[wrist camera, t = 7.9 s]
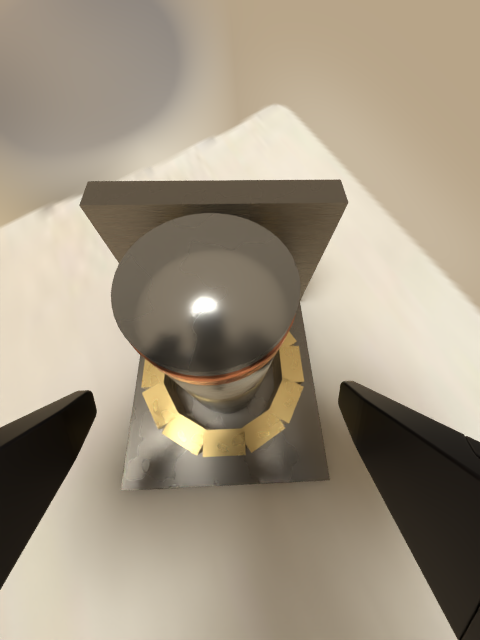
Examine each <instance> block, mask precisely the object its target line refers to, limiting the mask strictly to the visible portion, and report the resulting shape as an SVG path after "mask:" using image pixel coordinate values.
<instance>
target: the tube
mask: <svg viewBox="0 0 480 640" xmlns="http://www.w3.org/2000/svg"><path fill="white" fill-rule="evenodd" d="M299 299H300V277H299V272H298V269H297V266H296V263H295V261H294V259H293V257H292V255H291V253H290V252H289V250H288V249H287V247H286V246H285V245H284V244H283V243H282V242H281V240H280V239H279V238H277V237H276V236H275V235H274V234H273V233H272V232H270V231H269V230H267V229H266V228H264V227H262V226H261V225H259V224H257V223H255V222H252V221H250V220H248V219H245V218H241V217H238V216H234V215H228V214H220V213H201V214H193V215H187V216H183V217H179V218H176V219H173V220H170V221H168V222H165V223H163V224H161V225H159V226H157V227H155V228H154V229H152V230H150V231H149V232H147V233H146V234H145V235H143V236H142V237H141V238H140V239H138V240H137V241H136V242H135V243H134V244H133V245H132V246H131V247H130V249H129V250H128V251H127V253H126V254H125V255H124V257H123V258H122V260H121V262H120V263H119V265H118V268H117V270H116V272H115V275H114V279H113V283H112V290H111V303H112V309H113V314H114V317H115V320H116V322H117V324H118V327H119V328H120V330H121V332H122V333H123V335H124V336H125V338H126V339H127V340H128V341H129V342H130V344H131V345H132V346H133V347H134V348H135V350H136V351H137V352H138V353H139V354H140V355H141V356H143V357H144V358H145V359H146V360H147V361H149V362H150V363H151V364H152V365H153V366H155V367H156V368H157V369H158V370H160V371H161V372H163V373H164V374H166V375H168V376H169V377H170V378H171V379H172V380H174V381H175V382H176V383H177V384H178V385H180V386H181V387H182V388H183V389H184V390H185V391H187V392H188V393H189V394H190V395H191V396H193V397H194V398H195V399H196V400H197V401H198V402H200V403H201V404H202V405H203V406H204V407H206V408H207V409H209V410H211V411H213V412H216V413H222V414H228V413H233V412H237V411H239V410H241V409H243V408H244V407H246V406H247V405H248V404H249V403H250V402H251V401H252V399H253V398H254V396H255V394H256V393H257V391H258V389H259V387H260V385H261V383H262V381H263V379H264V376H265V374H266V372H267V370H268V368H269V366H270V364H271V362H272V360H273V358H274V356H275V354H276V353H277V351H278V350H279V349H280V347H281V346H282V344H283V342H284V340H285V338H286V336H287V334H288V332H289V330H290V328H291V326H292V324H293V321H294V318H295V315H296V311H297V308H298V305H299Z"/></svg>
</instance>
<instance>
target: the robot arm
mask: <svg viewBox="0 0 480 640" xmlns="http://www.w3.org/2000/svg"><path fill="white" fill-rule="evenodd" d="M338 404H339V408H340V410H341V413H342V415H343V418H344V420H345V422H346V425H347V427H348V430H349V432H350V435H351V437H352V440H353V442H354V444H355V447H356V448H357V450H358V452H359V454H360V456H361V458H362V460H363V462H364V464H365V466H366V468H367V469H368V471H369V473H370V475H371V477H372V479H373V481H374V483H375V485H376V486H377V488H378V490H379V492H380V494H381V496H382V498H383V500H384V501H385V503H386V505H387V507H388V509H389V511H390V513H391V515H392V517H393V518H394V520H395V522H396V524H397V526H398V528H399V530H400V532H401V534H402V535H403V537H404V539H405V541H406V543H407V545H408V547H409V549H410V550H411V552H412V554H413V556H414V558H415V560H416V562H417V564H418V566H419V567H420V569H421V571H422V573H423V575H424V577H425V579H426V581H427V582H428V584H429V586H430V588H431V590H432V592H433V594H434V596H435V598H436V599H437V601H438V603H439V605H440V607H441V609H442V611H443V613H444V615H445V616H446V618H447V620H448V622H449V624H450V626H451V628H452V630H453V631H454V633H455V635H456V637H457V639H458V640H480V442H478V441H476V440H474V439H472V438H470V437H468V436H464V434H462V433H460V432H458V431H456V430H453V429H451V428H449V427H447V426H445V425H443V424H441V423H439V422H437V421H435V420H433V419H431V418H429V417H427V416H424V415H422V414H420V413H418V412H416V411H414V410H412V409H410V408H408V407H406V406H404V405H402V404H400V403H398V402H396V401H393V400H391V399H389V398H387V397H385V396H383V395H381V394H379V393H377V392H375V391H373V390H371V389H369V388H367V387H365V386H362V385H360V384H358V383H356V382H354V381H344V382H342V383H341V385H340V392H339V399H338ZM96 413H97V409H96V405H95V401H94V397H93V394H92V392H91V391H89V390H85V391H76V392H74V393H72V394H70V395H68V396H66V397H64V398H62V399H59V400H57V401H55V402H53V403H51V404H49V405H47V406H45V407H43V408H41V409H38V410H36V411H34V412H32V413H30V414H28V415H26V416H24V417H22V418H20V419H17V420H15V421H13V422H11V423H9V424H7V425H5V426H3V427H1V428H0V589H1V588H2V586H3V584H4V583H5V581H6V579H7V577H8V576H9V574H10V572H11V570H12V569H13V567H14V565H15V564H16V562H17V560H18V558H19V557H20V555H21V553H22V552H23V550H24V548H25V546H26V545H27V543H28V541H29V539H30V538H31V536H32V534H33V533H34V531H35V529H36V527H37V526H38V524H39V522H40V520H41V519H42V517H43V515H44V514H45V512H46V510H47V508H48V507H49V505H50V503H51V501H52V500H53V498H54V496H55V495H56V493H57V491H58V489H59V488H60V486H61V484H62V482H63V481H64V479H65V477H66V476H67V474H68V472H69V470H70V469H71V467H72V465H73V463H74V462H75V460H76V458H77V456H78V454H79V452H80V450H81V447H82V445H83V443H84V441H85V439H86V437H87V434H88V432H89V430H90V428H91V426H92V424H93V421H94V419H95V417H96Z"/></svg>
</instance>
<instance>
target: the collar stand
mask: <svg viewBox="0 0 480 640" xmlns="http://www.w3.org/2000/svg"><path fill="white" fill-rule="evenodd" d="M347 204H348V200H347V197H346V194H345V191H344V188H343V185H342V182H341V180H231V181H101V182H100V181H95V182H94V181H91V182H88V183H87V186H86V188H85V191H84V194H83V197H82V200H81V202H80V207H81V208H82V210H83V211H84V213H85V214H86V216H87V217H88V219H89V220H90V221H91V223H92V224H93V226H94V227H95V229H96V230H97V232H98V233H99V235H100V236H101V238H102V239H103V240H104V242H105V243H106V245H107V246H108V248H109V249H110V251H111V252H112V254H113V255H114V256H115V258H116V259H117V261H118V262H119V263H120V262H121V260H122V258H123V257H124V255H125V254H126V253H127V251H128V250H129V249H130V247H131V246H132V245H133V244H134V243H135V242H136V241H137V240H138V239H140V238H141V237H142V236H143V235H145V234H146V233H147V232H149V231H150V230H152V229H154V228H155V227H157V226H159V225H161V224H163V223H165V222H168V221H170V220H173V219H176V218H179V217H183V216H187V215H193V214H201V213H220V214H228V215H234V216H238V217H241V218H245V219H248V220H250V221H252V222H255V223H257V224H259V225H261V226H262V227H264V228H266V229H267V230H269V231H270V232H272V233H273V234H274V235H275V236H276V237H277V238H279V239H280V240H281V242H282V243H283V244H284V245H285V246H286V247H287V249H288V250H289V252H290V253H291V255H292V257H293V259H294V261H295V263H296V266H297V269H298V272H299V277H300V299H299V305H298V308H297V311H296V315H295V318H294V321H293V324H292V326H291V328H290V330H289V332H288V334H287V336H286V338H285V340H284V342H283V344H282V346H281V347H280V349H279V350H278V351H277V353H276V354H275V356H274V358H273V360H272V362H271V364H270V366H269V368H268V370H267V372H266V374H265V376H264V379H263V381H262V383H261V385H260V387H259V389H258V391H257V393H256V394H255V396H254V398H253V399H252V401H251V402H250V403H249V404H248V405H247V406H246V407H244V408H243V409H241V410H239V411H237V412H233V413H228V414H222V413H216V412H213V411H211V410H209V409H207V408H206V407H204V406H203V405H202V404H201V403H200V402H198V401H197V400H196V399H195V398H194V397H193V396H191V395H190V394H189V393H188V392H187V391H185V390H184V389H183V388H182V387H181V386H180V385H178V384H177V383H176V382H175V381H174V380H172V379H171V378H170V377H169V376H168V375H166V374H164V373H163V372H161V371H160V370H158V369H157V368H156V367H155V366H153V365H152V364H151V363H150V362H149V361H147V360H146V359H145V358H144V357H143V356H141V355H140V361H139V368H138V375H137V382H136V389H135V396H134V402H133V409H132V416H131V423H130V430H129V437H128V444H127V450H126V457H125V464H124V471H123V478H122V485H121V491H123V490H143V489H163V488H183V487H203V486H223V485H243V484H263V483H283V482H303V481H323V480H330V479H329V473H328V467H327V461H326V455H325V449H324V443H323V437H322V431H321V425H320V419H319V413H318V407H317V401H316V395H315V389H314V383H313V377H312V371H311V365H310V359H309V354H308V348H307V342H306V336H305V330H304V324H303V318H302V312H301V306H300V300H301V298H302V296H303V293H304V291H305V289H306V287H307V285H308V283H309V281H310V279H311V277H312V275H313V273H314V271H315V269H316V267H317V265H318V263H319V261H320V259H321V257H322V255H323V253H324V251H325V249H326V247H327V245H328V243H329V241H330V239H331V237H332V235H333V233H334V231H335V229H336V227H337V225H338V223H339V220H340V218H341V216H342V214H343V212H344V210H345V208H346V206H347Z"/></svg>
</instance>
